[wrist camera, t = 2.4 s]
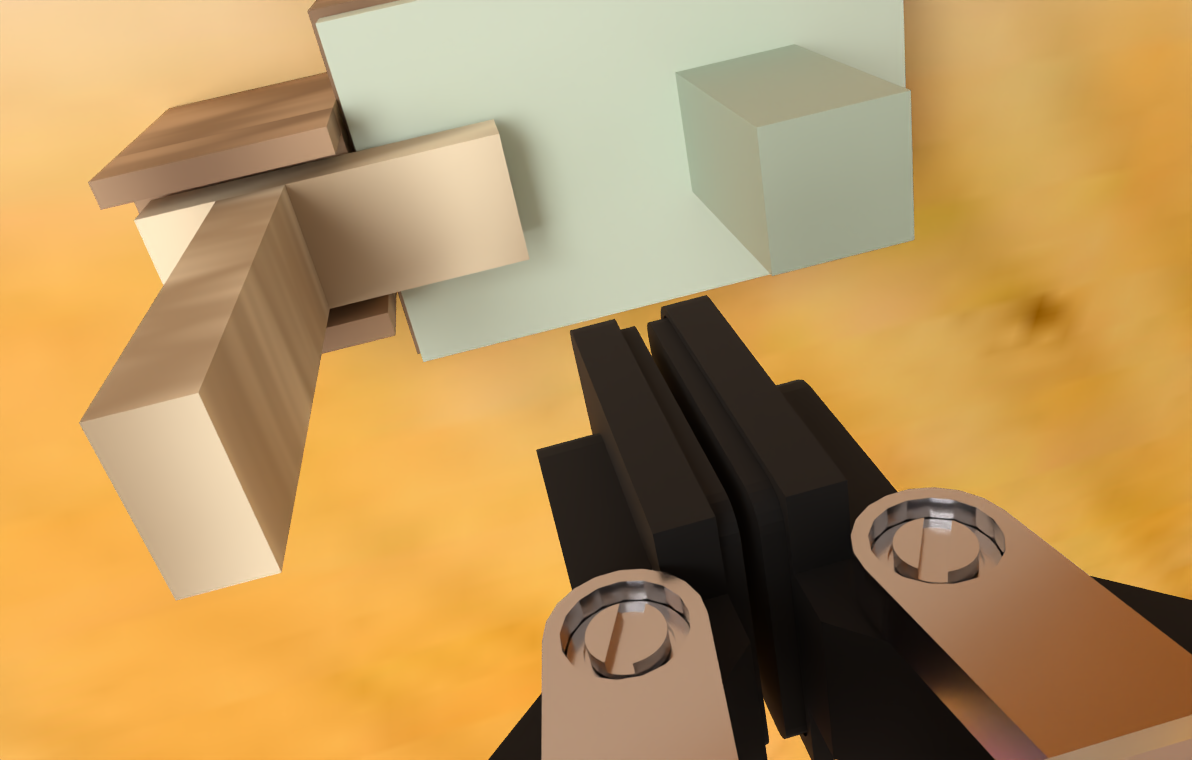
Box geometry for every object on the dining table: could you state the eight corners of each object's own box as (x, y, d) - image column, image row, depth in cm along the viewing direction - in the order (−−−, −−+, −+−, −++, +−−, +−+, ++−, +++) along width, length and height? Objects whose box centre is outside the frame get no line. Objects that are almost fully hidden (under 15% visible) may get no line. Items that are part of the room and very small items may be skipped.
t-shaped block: (493, 119, 22) (562, 301, 12) (522, 238, 23) (604, 486, 14) (150, 200, 21) (-63, 459, 12) (202, 317, 23) (50, 633, 13)
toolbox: (816, -119, 26) (953, -122, 20) (836, 188, 31) (953, 269, 24) (137, 33, 25) (42, 84, 18) (259, 331, 29) (217, 458, 23)
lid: (881, -109, 22) (1059, -109, 16) (893, 227, 27) (1038, 328, 20) (319, 18, 21) (284, 69, 15) (422, 345, 26) (427, 488, 20)
